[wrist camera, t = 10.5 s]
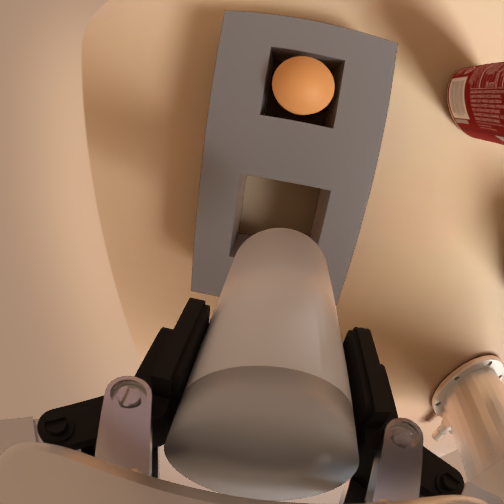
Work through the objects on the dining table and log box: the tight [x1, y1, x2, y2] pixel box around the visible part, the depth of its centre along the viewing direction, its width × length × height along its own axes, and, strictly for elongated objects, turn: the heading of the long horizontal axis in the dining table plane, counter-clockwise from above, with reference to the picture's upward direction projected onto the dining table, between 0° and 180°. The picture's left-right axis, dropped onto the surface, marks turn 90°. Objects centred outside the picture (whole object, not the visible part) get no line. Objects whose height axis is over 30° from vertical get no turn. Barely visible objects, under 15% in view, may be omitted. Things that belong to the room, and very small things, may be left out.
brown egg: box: [272, 56, 335, 115], centre depth 20 cm, size 4×4×5 cm
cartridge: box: [164, 228, 359, 501], centre depth 11 cm, size 5×5×11 cm
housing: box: [191, 10, 398, 305], centre depth 23 cm, size 22×12×5 cm, turn 171°
